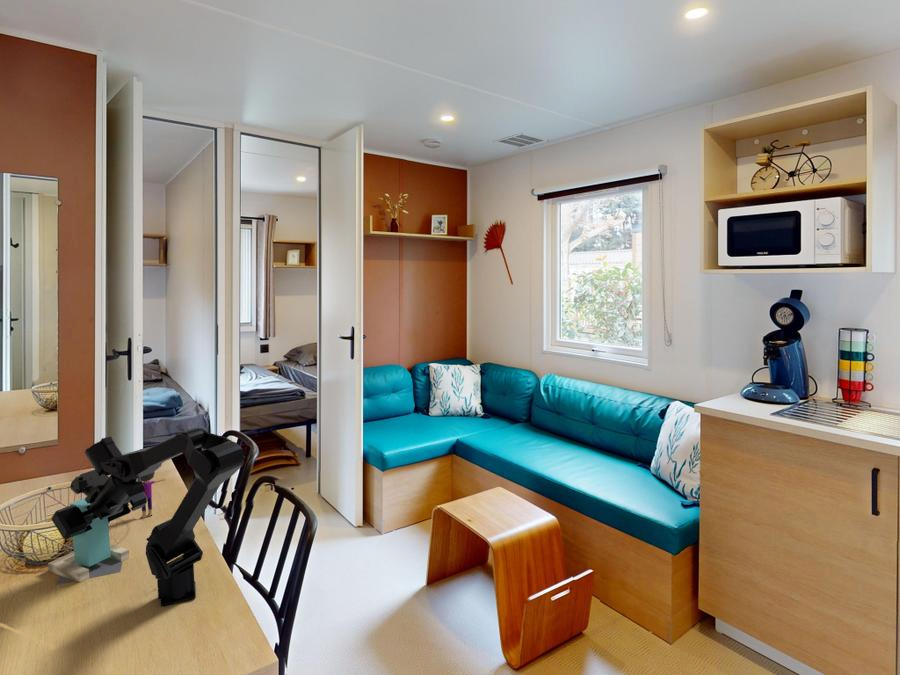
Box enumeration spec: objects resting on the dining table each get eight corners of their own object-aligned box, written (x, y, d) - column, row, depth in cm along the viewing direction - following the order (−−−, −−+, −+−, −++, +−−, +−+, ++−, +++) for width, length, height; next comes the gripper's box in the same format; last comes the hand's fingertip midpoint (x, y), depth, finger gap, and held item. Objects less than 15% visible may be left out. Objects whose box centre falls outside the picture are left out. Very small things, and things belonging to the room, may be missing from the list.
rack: (129, 557, 129) (128, 549, 129) (80, 582, 118) (79, 573, 118) (98, 548, 133) (98, 540, 133) (48, 571, 123) (47, 563, 122)
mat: (125, 549, 133) (125, 548, 133) (120, 573, 123) (120, 571, 122) (66, 560, 128) (66, 559, 128) (56, 586, 117) (55, 584, 117)
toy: (164, 508, 157) (162, 458, 155) (171, 514, 153) (169, 463, 151) (124, 520, 149) (121, 467, 148) (130, 526, 145) (127, 473, 144)
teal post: (110, 556, 126) (106, 498, 125) (89, 566, 122) (84, 506, 120) (96, 552, 128) (91, 495, 127) (75, 562, 124) (69, 503, 122)
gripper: (136, 449, 129) (107, 486, 135) (53, 475, 112) (25, 517, 118) (161, 486, 127) (131, 522, 133) (80, 518, 110) (50, 558, 116)
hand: (87, 528), depth 125 cm, fingers closed on teal post, 5 cm apart
